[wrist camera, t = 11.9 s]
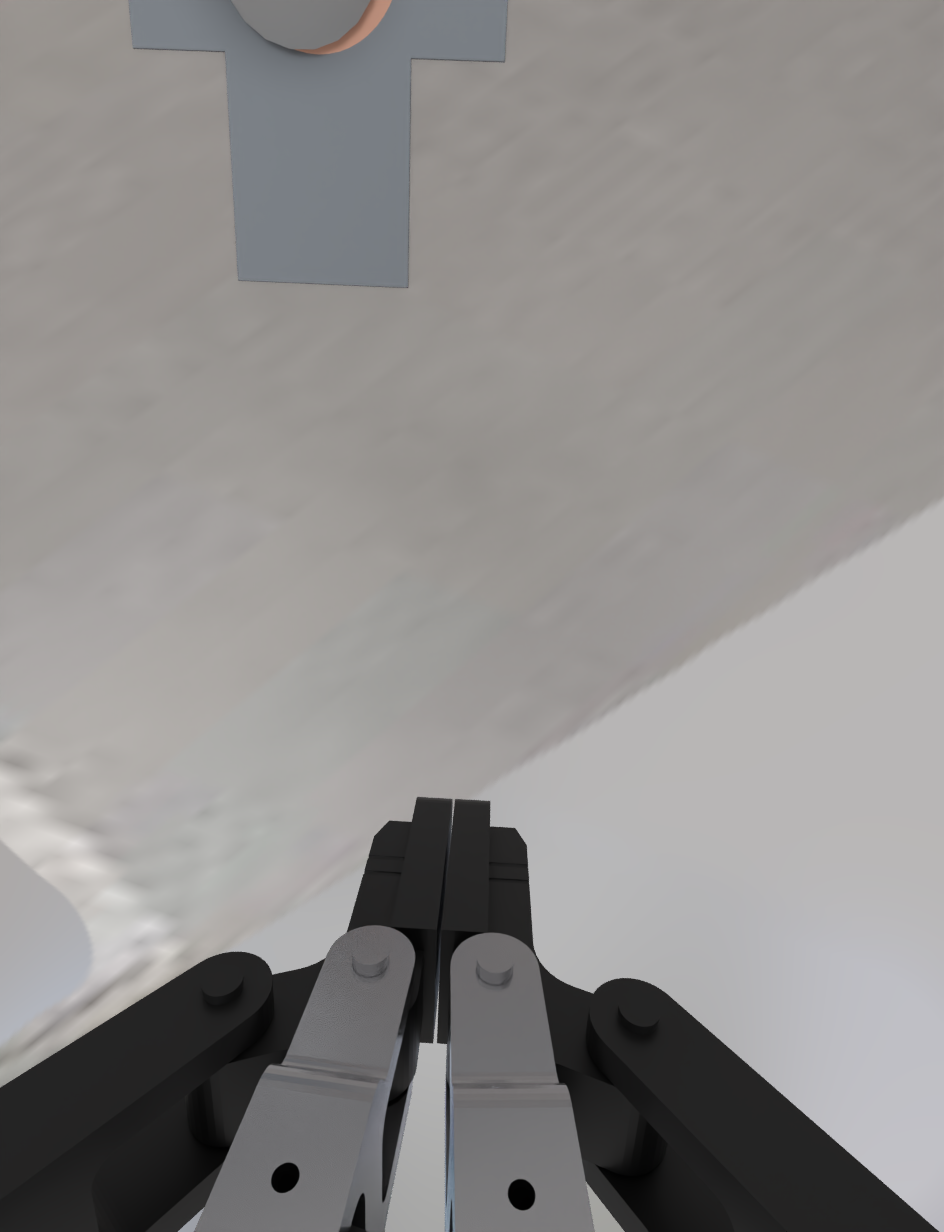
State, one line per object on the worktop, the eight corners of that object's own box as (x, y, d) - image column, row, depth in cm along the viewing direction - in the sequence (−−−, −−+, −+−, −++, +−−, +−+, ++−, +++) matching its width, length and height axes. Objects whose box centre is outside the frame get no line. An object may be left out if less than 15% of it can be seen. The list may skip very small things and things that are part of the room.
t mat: (515, -153, 30) (515, -159, 29) (493, 292, 35) (493, 291, 35) (116, -165, 30) (112, -171, 30) (156, 277, 35) (153, 276, 35)
